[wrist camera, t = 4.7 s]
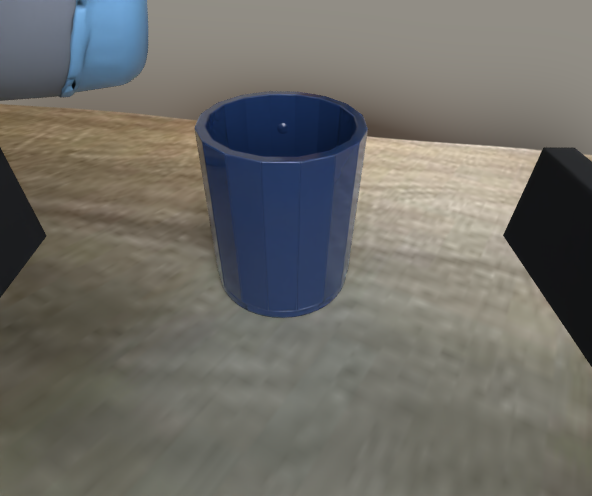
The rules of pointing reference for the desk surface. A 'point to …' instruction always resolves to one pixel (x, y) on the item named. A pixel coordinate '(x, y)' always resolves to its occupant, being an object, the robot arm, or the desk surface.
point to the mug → (281, 197)
